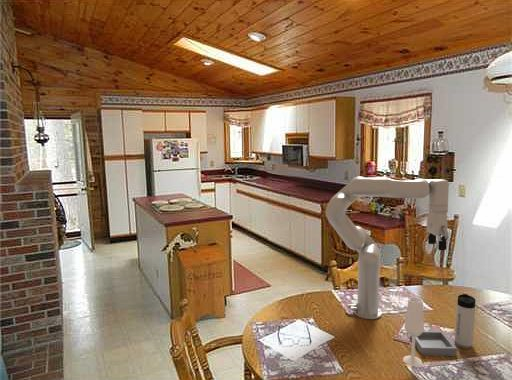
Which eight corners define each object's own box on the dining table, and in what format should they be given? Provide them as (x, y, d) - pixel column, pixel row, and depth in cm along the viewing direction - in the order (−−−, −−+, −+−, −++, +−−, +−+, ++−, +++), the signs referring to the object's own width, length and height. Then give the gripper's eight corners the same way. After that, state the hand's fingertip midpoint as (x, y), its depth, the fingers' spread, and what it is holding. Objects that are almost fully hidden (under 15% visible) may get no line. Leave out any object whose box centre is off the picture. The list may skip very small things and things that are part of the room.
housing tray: (421, 355, 147) (421, 347, 147) (409, 337, 160) (410, 330, 160) (456, 355, 146) (456, 348, 146) (441, 338, 159) (442, 331, 159)
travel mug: (470, 341, 157) (473, 294, 154) (473, 349, 150) (477, 301, 148) (453, 338, 159) (456, 292, 156) (455, 347, 152) (459, 299, 150)
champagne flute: (408, 353, 148) (411, 294, 145) (425, 361, 143) (429, 299, 140) (399, 360, 144) (402, 299, 140) (416, 368, 139) (420, 305, 135)
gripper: (421, 205, 174) (420, 241, 176) (438, 212, 157) (437, 252, 159) (437, 204, 174) (436, 241, 176) (457, 211, 157) (455, 252, 159)
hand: (437, 246), depth 168 cm, fingers open, 9 cm apart
